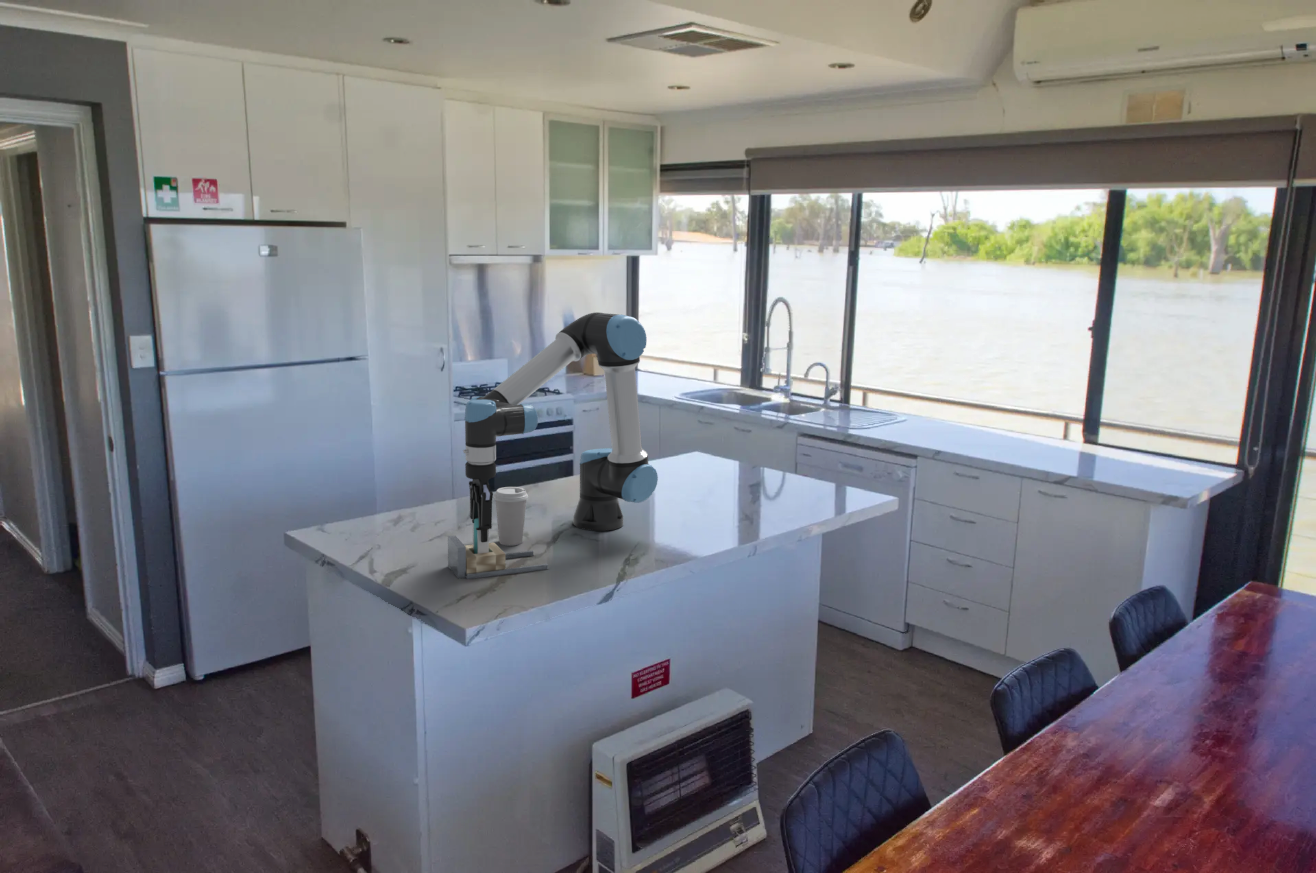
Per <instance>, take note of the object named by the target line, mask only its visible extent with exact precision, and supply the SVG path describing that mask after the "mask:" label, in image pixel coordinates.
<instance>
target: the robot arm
mask: <svg viewBox="0 0 1316 873" xmlns="http://www.w3.org/2000/svg"><path fill="white" fill-rule="evenodd" d="M646 348H647V333H646V330H645V327H644V326H643V324H642V323H641V322H640V321H639V320H638V319H636V318H635V317H633V316H630V315H629V316H628V315H626V314H618V313H617V314H616V313H605V312H604V313H603V312H591V313H587V314H584V315H583V316H581V317H579V318H577V319H576V320H574V321H573V322H571V323H569V324H568V325H566V326H565V327H563V329H561V330H560V331H559V332H558V333H557V334H556V335H555V340H553V341H552V342H551V343H550V344H548V345H547V346H546V347H545V348H543V349H542V350H541V351H539V353H537V354H536V355H534V356H533V357H532V358H531V359H530V360H528V361H527V362H526V363H525V364H524V365H522V366H521V367H519V369H517V370H516V371H515V372H514V373H512V374H511V375H510V376H508V377H507V378H506V379H504V380H503V381H502V382H501V383H500V384H499V385H497V386H496V387H495V388H493V389H492V390H491V391H489V392H488V393H487V394H486V395H485V396H483V395H480V396H475V397H472V398H470V399H469V401H467V402H466V403H465V412H464V435H465V436H464V437H465V438H464V440H465V449H463V450H462V451H463V454H465V461H466V463H465V465H464V466H465V470H464V471H465V477H466V478H468V479H469V480H470V481H468V487H469V510H470V511H469V518H470V520H471V522H472V545H473V549H474V519H476V518H478V521H479V528H476V530H477V554H479V553H488V552H489V543H490V541H489V540H490V532H489V530H491V529H492V528H493V525H492V524H493V519H492V518H493V516H492V515H493V499H494V493H493V491H491V484H489V481H490V479H493V478H495V477H496V474H497V472H496V471H497V464H496V462H495V461H496V460H497V438H498V437H505V436H514V435H524V434H528V433H532V432H534V431H535V430H536V428H537V427H538V423H539V422H538V418H539V416H538V412H537V410H536V408H535V407H534V406H533V405H531V404H529V403H528V404H527V403H526V404H524V403H522V402H524V401H525V400H526V399H528V398H529V397H530V396H531V395H533V394H534V393H535V392H536V391H538V390H539V389H540V388H541V387H542V386H544V384H546V383H547V382H549V381H550V380H551V379H552V378H554V377H555V376H557V374H558V373H560V372H561V371H562V370H563V369H565V367H568V365H569V364H570V363H572V362H578V361H580V360H582V359H583V358H584V357H585V356H589V355H592V354H593V355H594V354H595V355H597V363H598V364H597V365H598V367H600V368H601V369H602V370H603V371H604V380H605V389H606V391H605V392H606V400H607V411H608V419H609V420H608V421H609V423H608V424H609V433H610V434H609V435H610V444H611V448H593V449H588V450H584V451H583V452H582V453H581V454H580V460H579V461H580V462H579V500H578V503H577V505H576V509H575V510H574V513H573V518H572V520H573V521H572V522H573V525H574V527H576V528H578V529H582V530H586V531H592V532H593V531H594V532H595V531H596V532H597V531H599V532H603V531H612V530H614V531H615V530H618V529H620V528H622V527H623V526H624V515H623V512H622V509H621V505H620V501H619V499H620V500H623V501H625V502H627V503H634V504H639V503H642V502H645V501H646V500H648V499H650V497H651V496H652V495H653V493H654V492H655V490H656V488H657V485H658V482H659V481H658V480H659V475H658V471H657V470H656V468H654V466H653V465H652V464H649V454H648V452H647V451H646V450H645V449H644V448H642V447H643V446H642V437H641V434H642V432H641V423H640V421H641V420H640V411H639V399H638V388H637V386H638V385H637V376H636V368H637V366H638V365H639V364H640V362H641V359H640V357H641V356H642V355H643V354H644V351H645V350H644V349H646Z"/></svg>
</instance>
